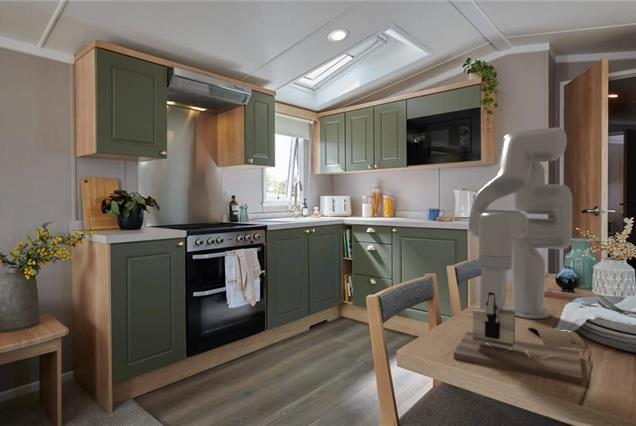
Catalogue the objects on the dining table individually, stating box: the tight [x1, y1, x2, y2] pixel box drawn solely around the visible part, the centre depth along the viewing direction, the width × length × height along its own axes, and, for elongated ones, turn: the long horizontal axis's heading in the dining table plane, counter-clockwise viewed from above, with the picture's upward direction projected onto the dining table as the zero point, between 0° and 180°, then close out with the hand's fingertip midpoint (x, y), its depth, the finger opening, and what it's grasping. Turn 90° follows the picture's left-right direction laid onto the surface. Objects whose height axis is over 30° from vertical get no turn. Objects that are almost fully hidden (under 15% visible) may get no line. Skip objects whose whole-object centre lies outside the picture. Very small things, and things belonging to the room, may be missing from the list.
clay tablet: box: [527, 326, 587, 350], centre depth 106 cm, size 14×10×3 cm
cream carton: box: [472, 305, 516, 347], centre depth 97 cm, size 5×9×8 cm, turn 58°
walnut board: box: [453, 331, 583, 386], centre depth 95 cm, size 16×26×2 cm, turn 58°
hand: (493, 333), depth 97 cm, fingers closed on cream carton, 5 cm apart
